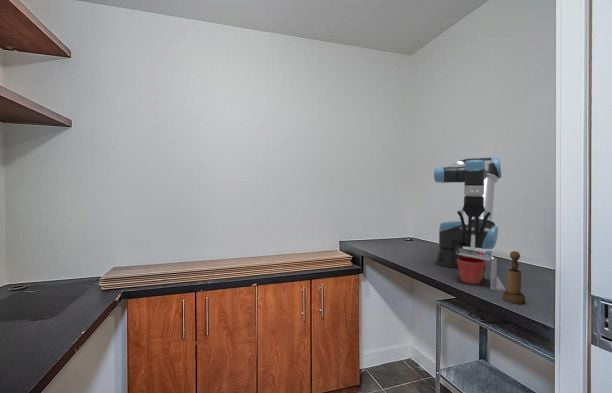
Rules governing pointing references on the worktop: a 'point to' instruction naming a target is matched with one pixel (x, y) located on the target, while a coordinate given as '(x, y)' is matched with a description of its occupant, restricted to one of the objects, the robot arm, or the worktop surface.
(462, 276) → the flower pot
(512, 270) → the brown tall piece
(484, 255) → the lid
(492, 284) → the hinge bracket
